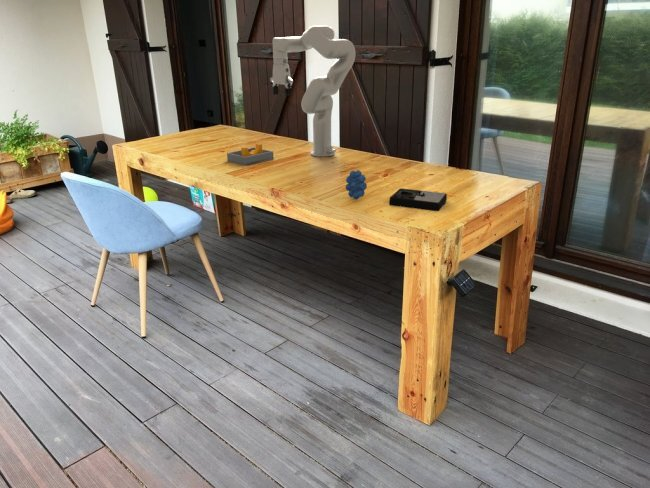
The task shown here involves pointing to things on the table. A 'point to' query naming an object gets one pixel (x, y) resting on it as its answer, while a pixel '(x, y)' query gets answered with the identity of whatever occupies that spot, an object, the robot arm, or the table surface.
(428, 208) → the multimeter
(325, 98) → the robot arm
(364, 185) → the grapes
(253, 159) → the tray
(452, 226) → the table surface
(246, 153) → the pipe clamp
